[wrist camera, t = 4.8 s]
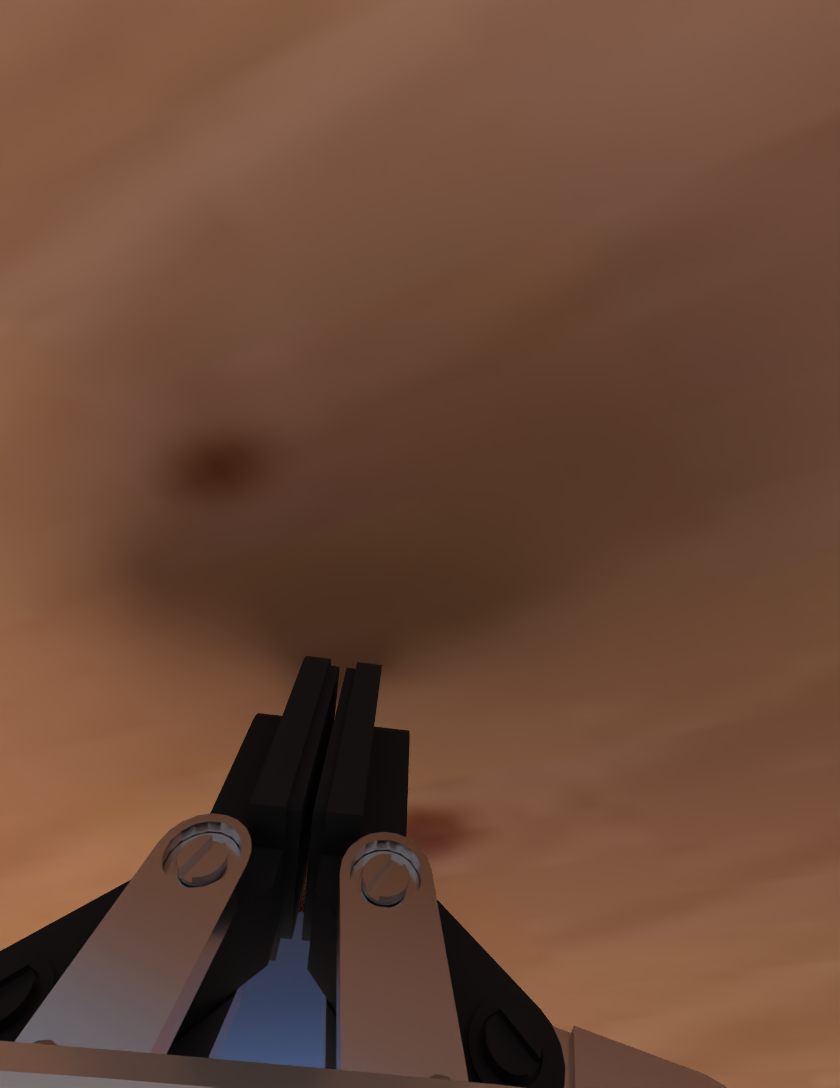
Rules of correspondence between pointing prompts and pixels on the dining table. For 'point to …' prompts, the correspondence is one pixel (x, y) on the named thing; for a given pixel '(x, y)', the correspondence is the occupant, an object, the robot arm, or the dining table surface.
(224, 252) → the dining table surface
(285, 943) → the ball
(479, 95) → the dining table surface
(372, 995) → the robot arm
